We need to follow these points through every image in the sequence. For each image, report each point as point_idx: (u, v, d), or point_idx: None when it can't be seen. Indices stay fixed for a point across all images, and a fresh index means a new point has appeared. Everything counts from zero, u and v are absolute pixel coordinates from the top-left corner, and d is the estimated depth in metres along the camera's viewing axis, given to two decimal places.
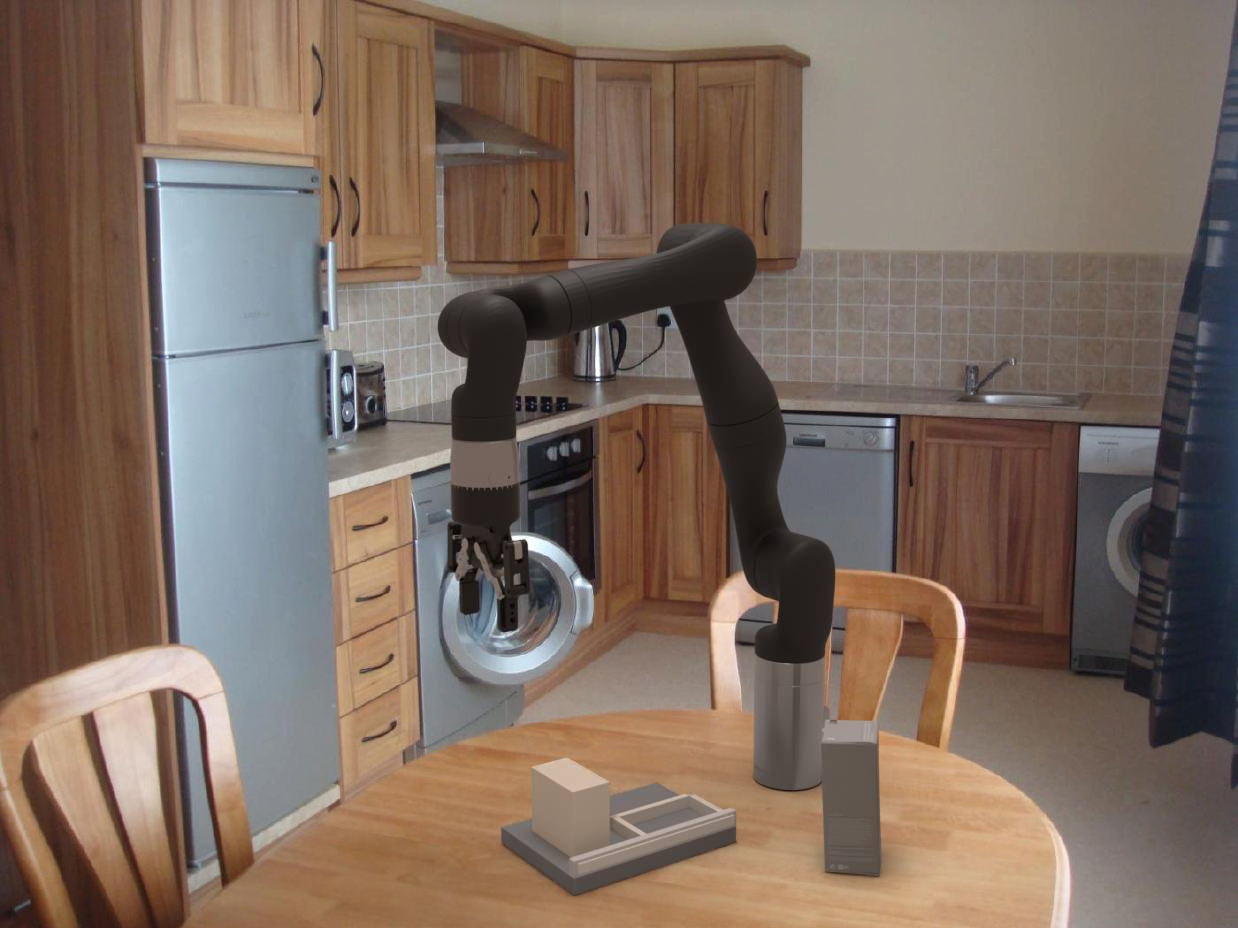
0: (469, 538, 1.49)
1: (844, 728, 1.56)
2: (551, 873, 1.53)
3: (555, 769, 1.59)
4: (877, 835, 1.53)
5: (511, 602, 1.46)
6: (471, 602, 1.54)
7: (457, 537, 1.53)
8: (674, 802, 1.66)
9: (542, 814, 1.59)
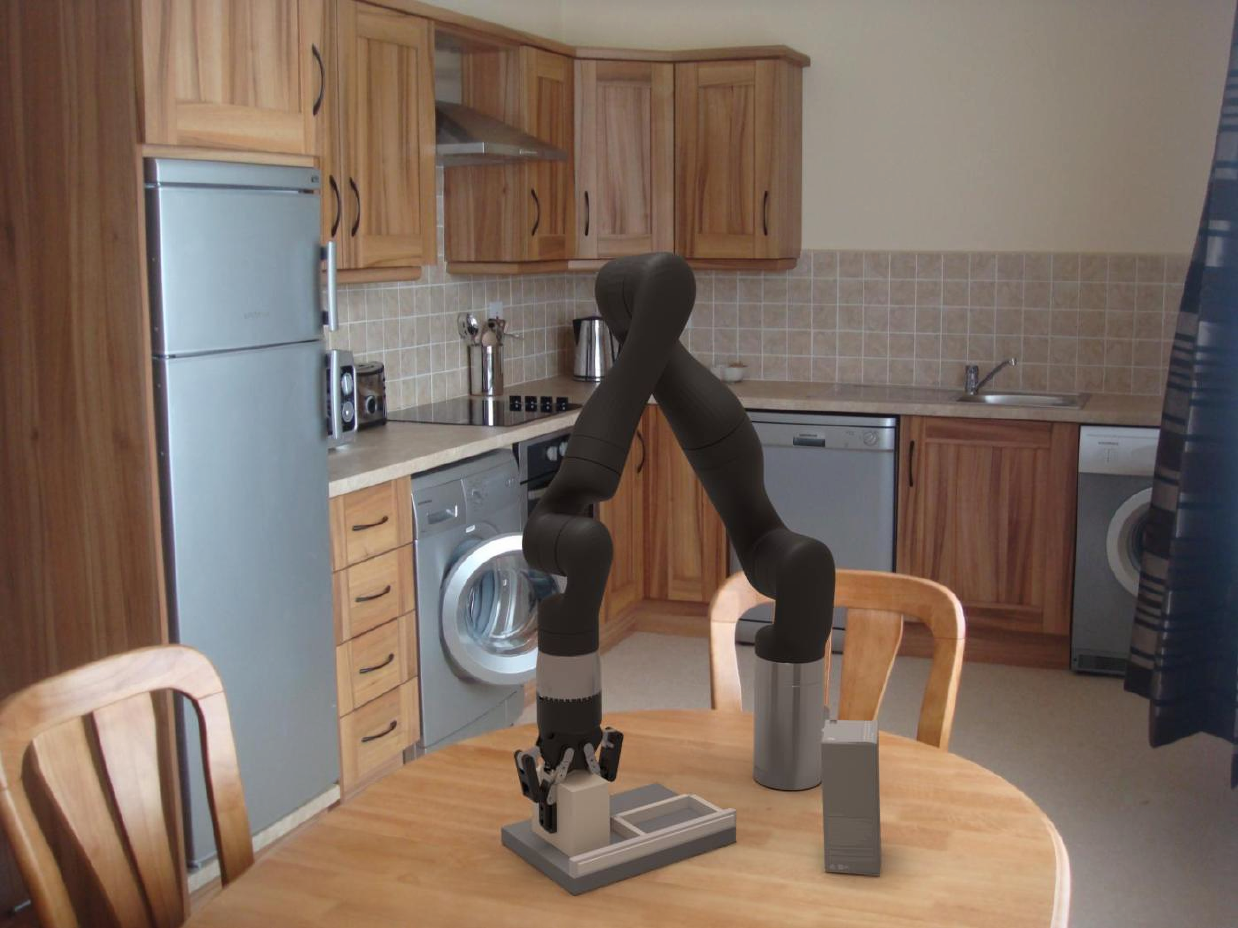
0: (567, 747, 1.55)
1: (844, 728, 1.56)
2: (551, 873, 1.53)
3: None
4: (877, 835, 1.53)
5: None
6: None
7: (536, 763, 1.54)
8: (674, 802, 1.66)
9: None
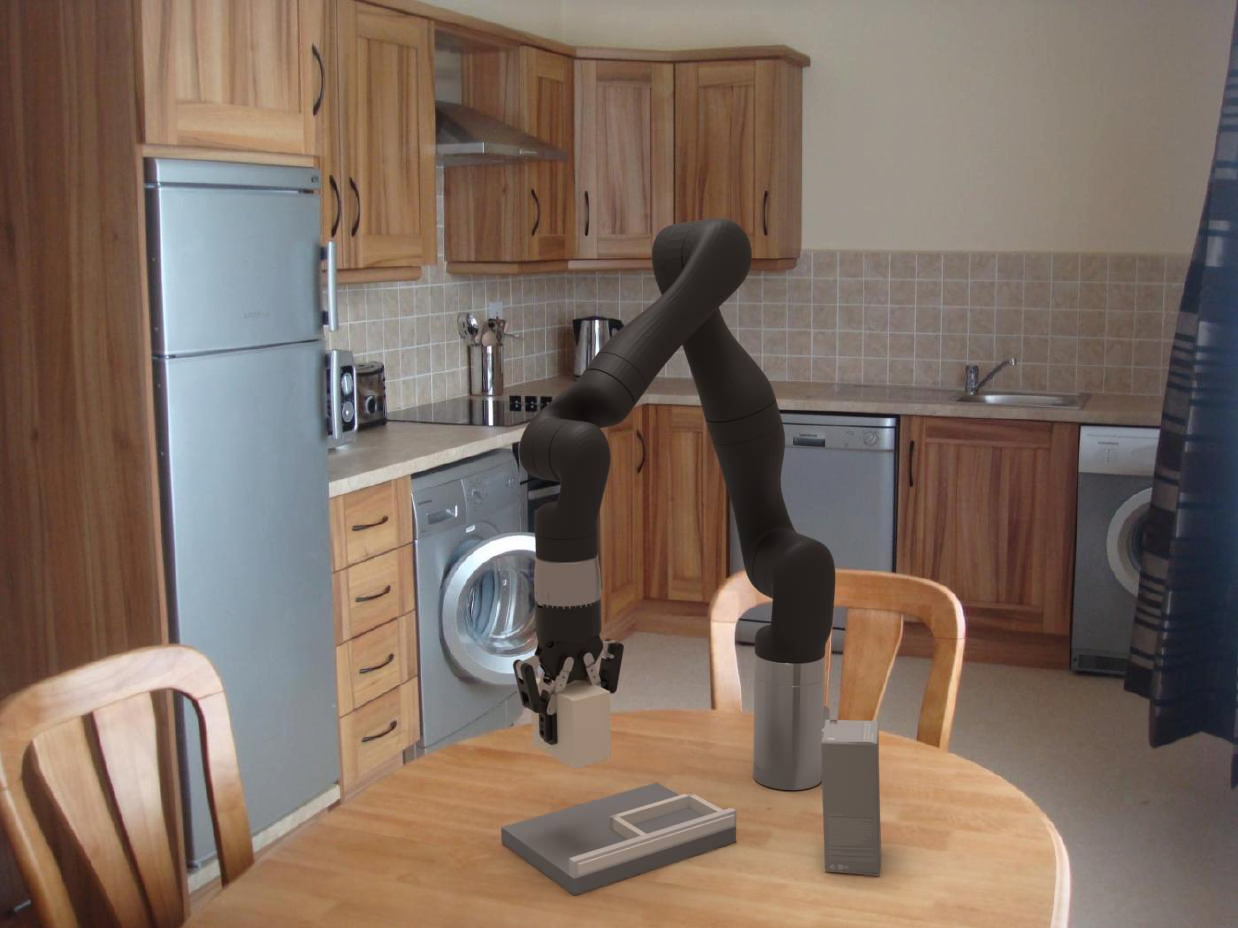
0: (567, 656, 1.53)
1: (845, 728, 1.56)
2: (551, 873, 1.53)
3: None
4: (877, 835, 1.53)
5: None
6: None
7: None
8: (674, 802, 1.66)
9: None
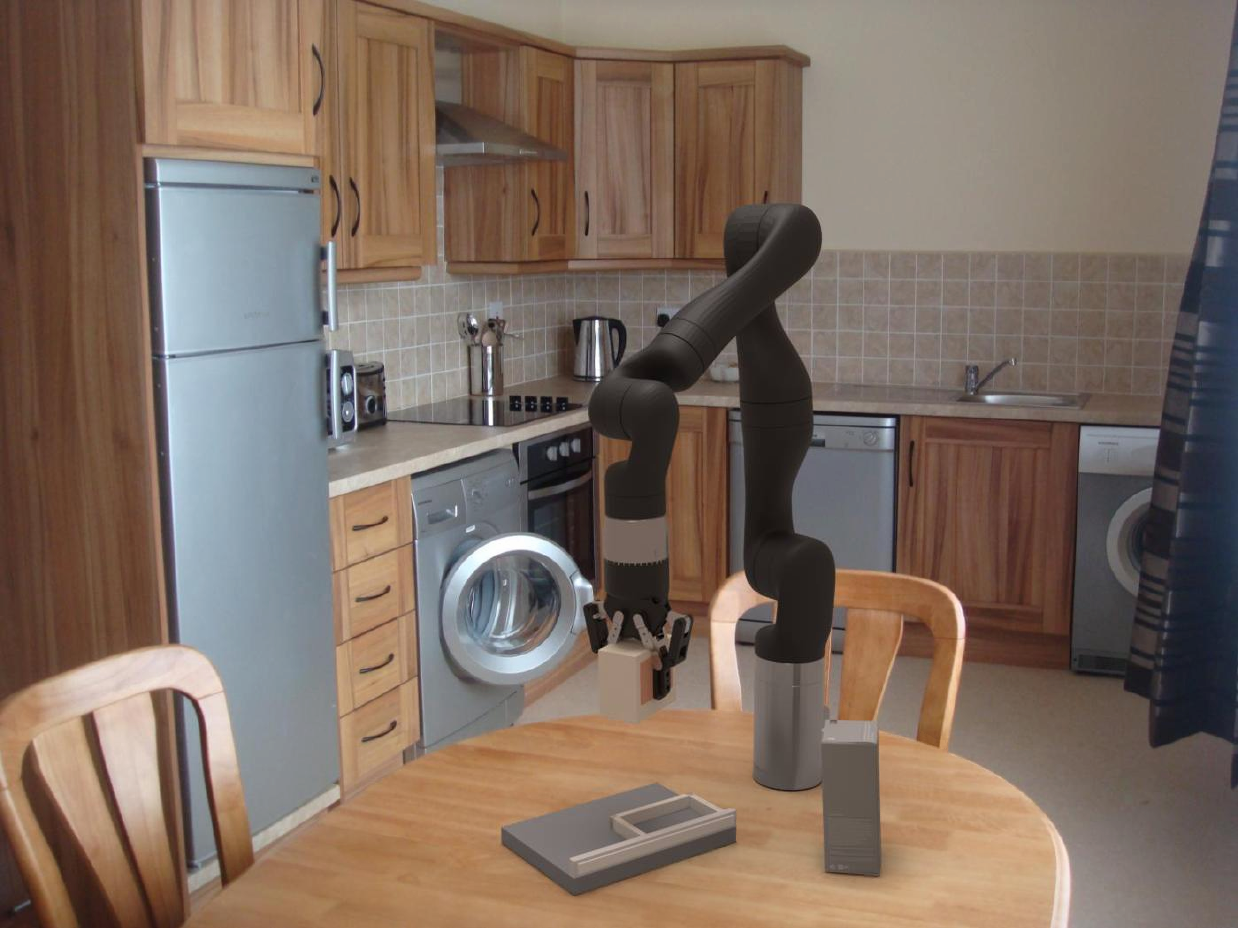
0: (621, 610, 1.56)
1: (845, 728, 1.56)
2: (551, 873, 1.53)
3: None
4: (877, 835, 1.53)
5: (666, 671, 1.56)
6: None
7: (597, 615, 1.59)
8: (674, 802, 1.66)
9: None
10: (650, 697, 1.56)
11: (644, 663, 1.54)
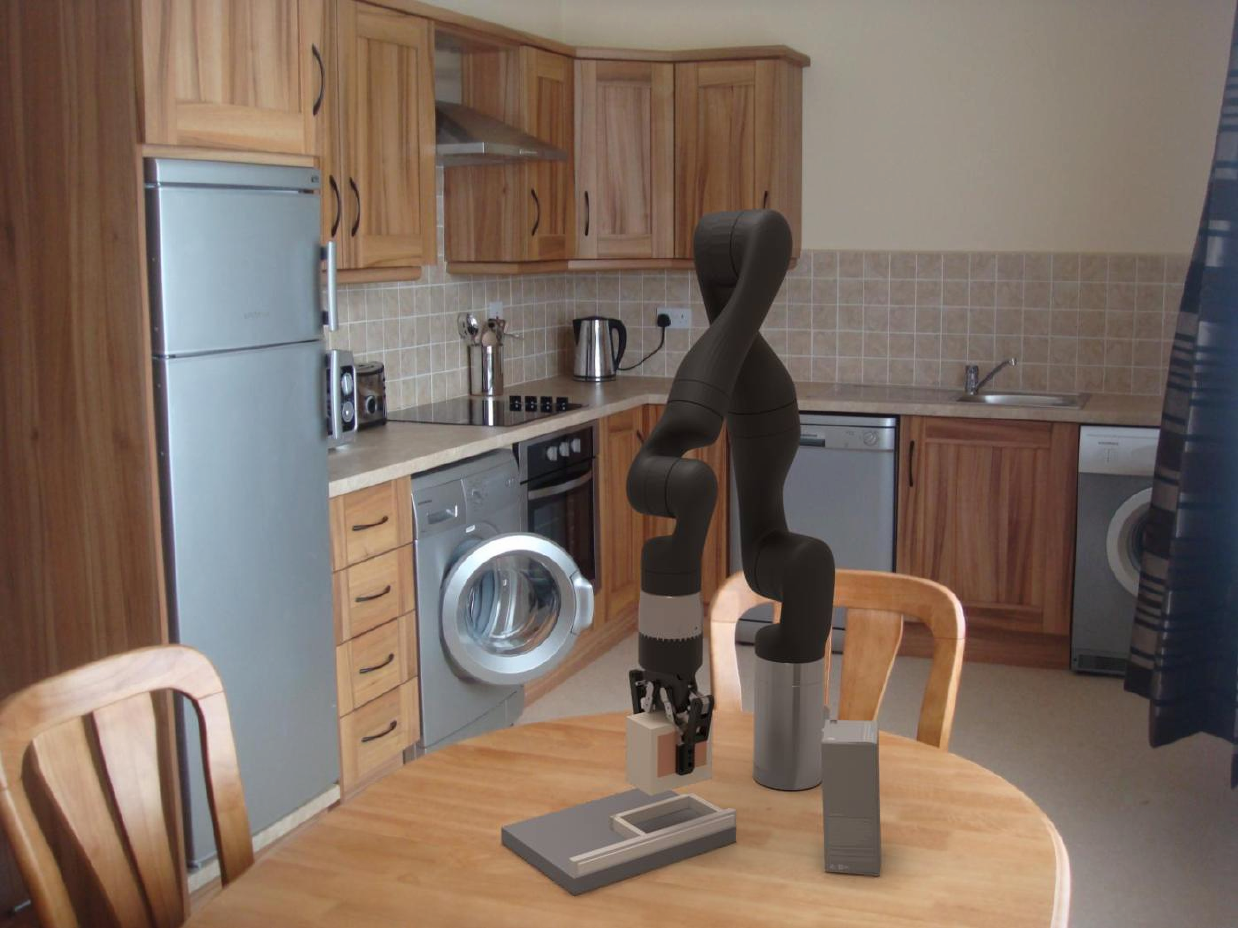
0: (653, 681, 1.59)
1: (845, 728, 1.56)
2: (551, 873, 1.53)
3: None
4: (877, 835, 1.53)
5: (689, 748, 1.57)
6: None
7: (640, 683, 1.63)
8: (674, 802, 1.66)
9: None
10: (671, 771, 1.57)
11: (663, 737, 1.56)
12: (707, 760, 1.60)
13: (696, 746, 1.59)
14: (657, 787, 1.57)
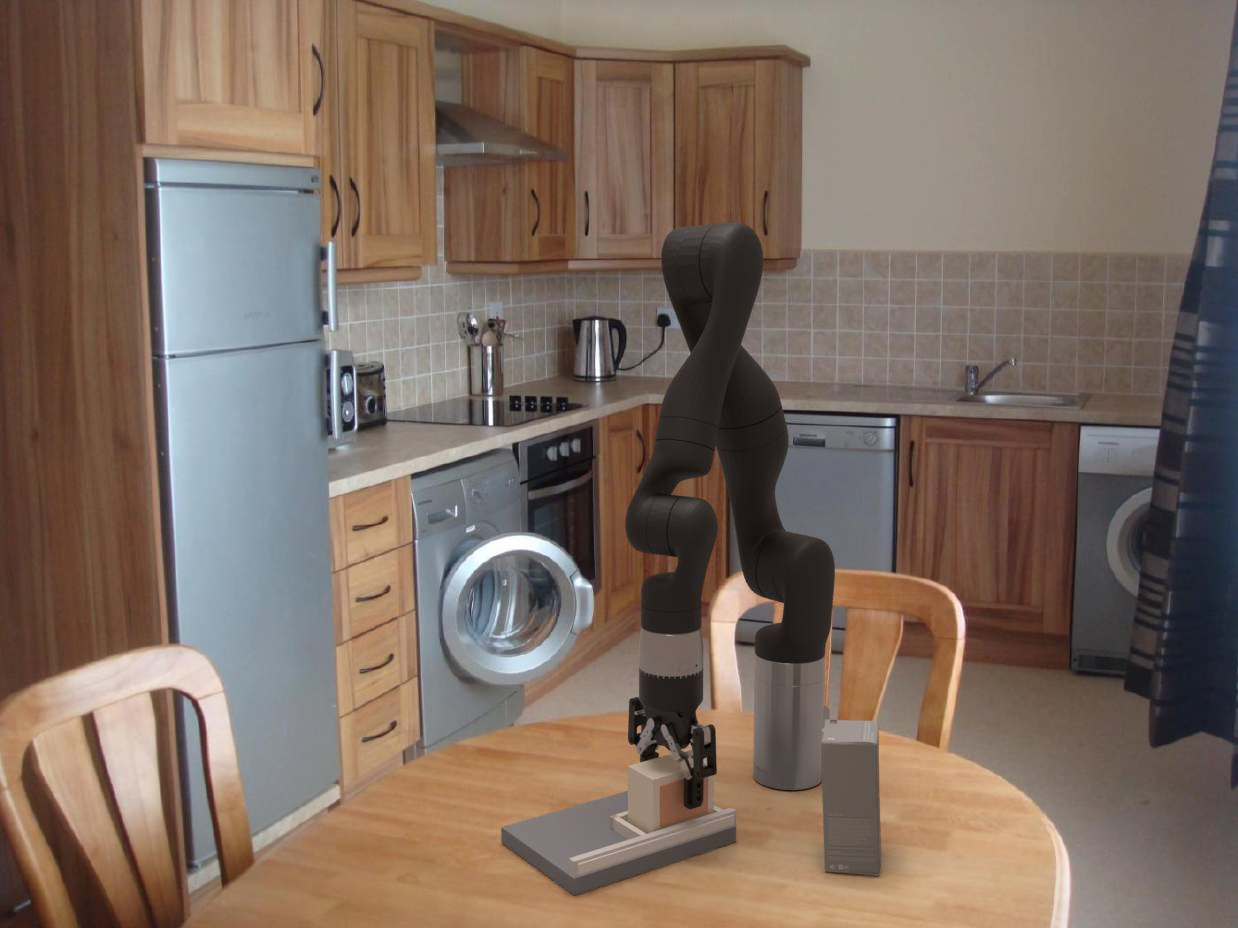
0: (655, 718, 1.60)
1: (844, 728, 1.56)
2: (551, 873, 1.53)
3: None
4: (877, 835, 1.53)
5: (698, 782, 1.56)
6: None
7: (639, 713, 1.64)
8: None
9: None
10: (673, 820, 1.58)
11: (665, 787, 1.57)
12: (709, 808, 1.61)
13: None
14: None
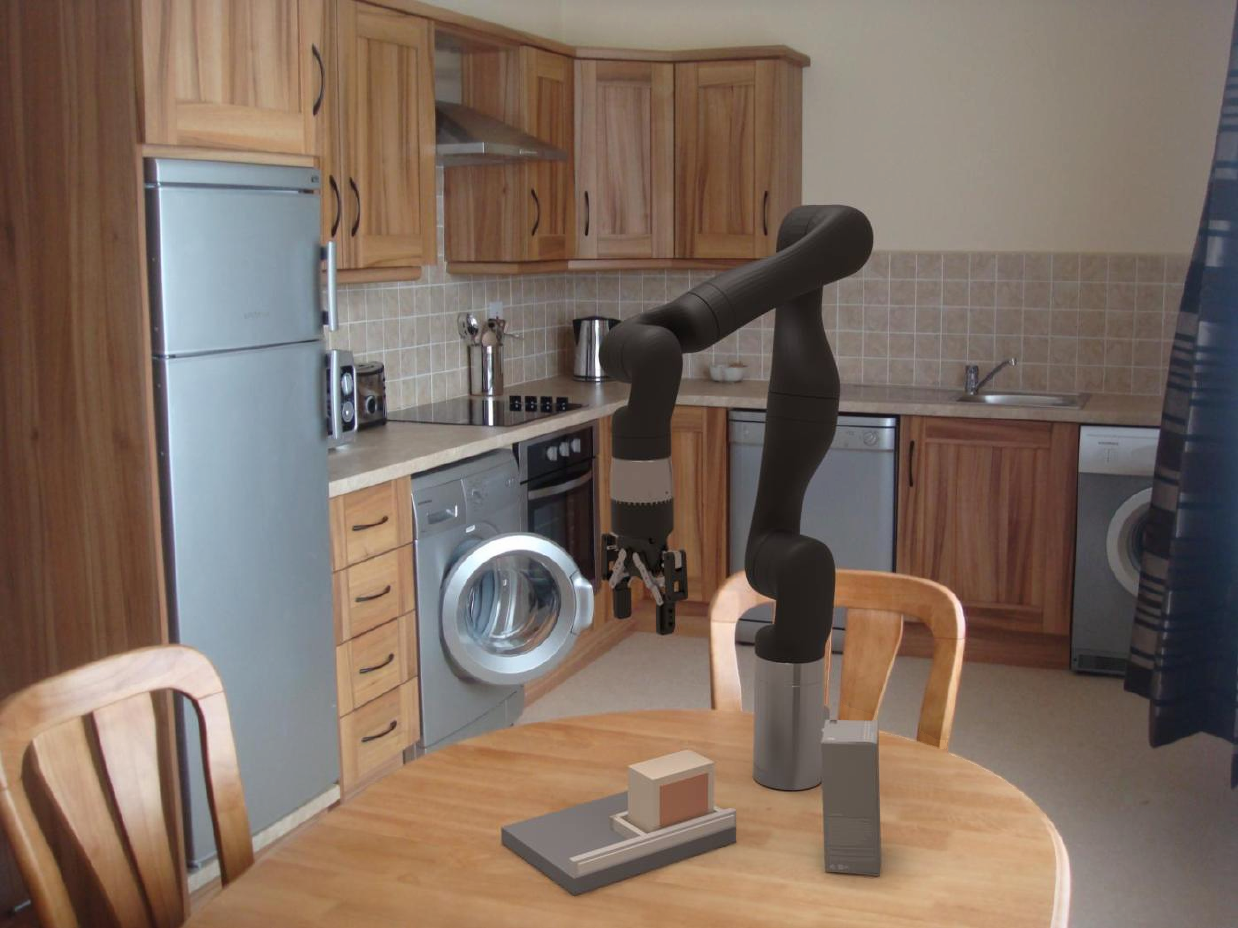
0: (626, 549, 1.62)
1: (844, 728, 1.56)
2: (551, 873, 1.53)
3: (681, 758, 1.62)
4: (877, 835, 1.53)
5: (669, 607, 1.59)
6: (624, 607, 1.67)
7: (611, 547, 1.66)
8: None
9: None
10: (673, 820, 1.58)
11: (665, 787, 1.57)
12: (709, 808, 1.61)
13: (698, 794, 1.60)
14: None
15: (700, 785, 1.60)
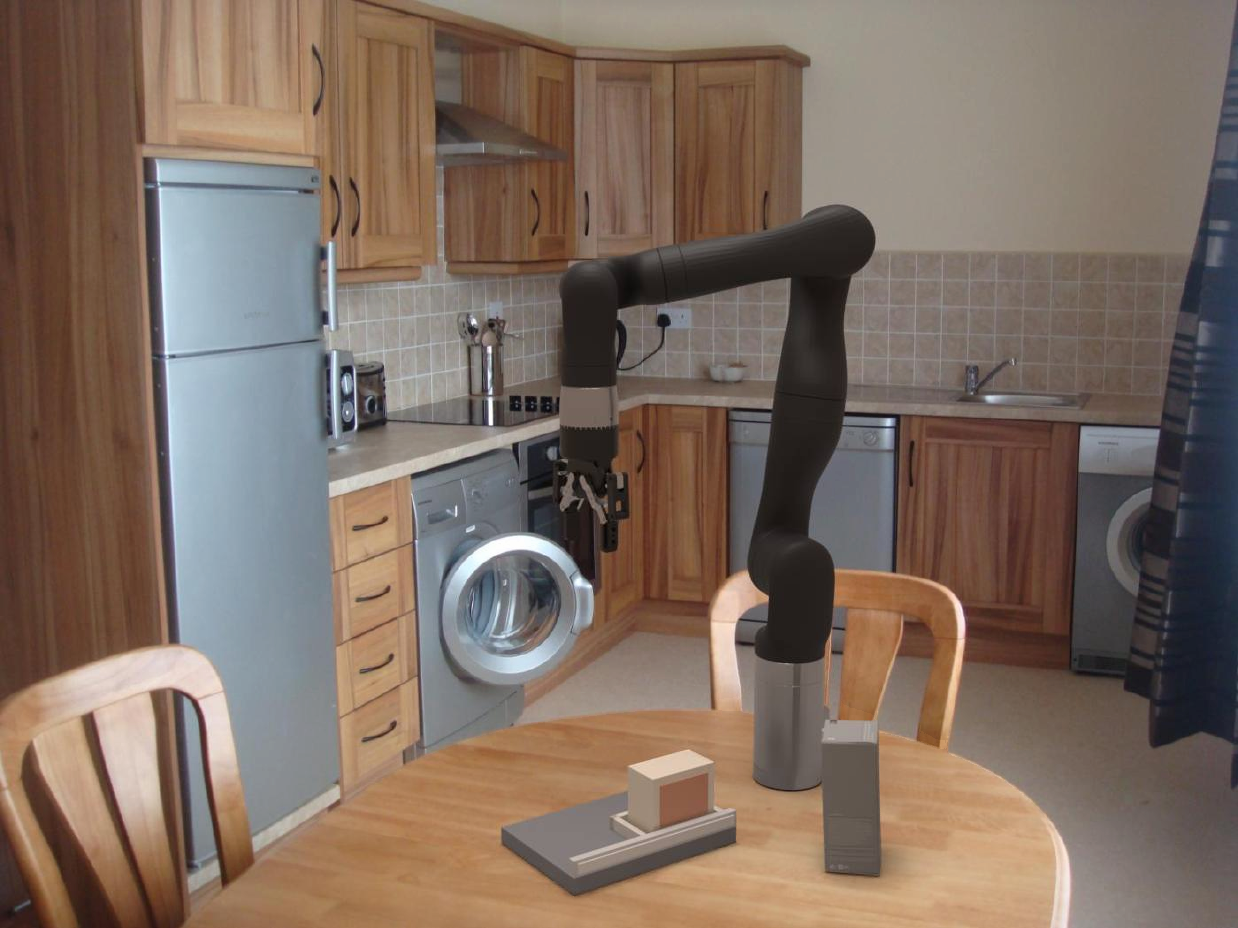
0: (575, 472, 1.73)
1: (845, 728, 1.56)
2: (551, 873, 1.53)
3: (681, 758, 1.62)
4: (877, 835, 1.53)
5: (613, 526, 1.70)
6: (573, 529, 1.78)
7: (562, 473, 1.77)
8: None
9: None
10: (673, 820, 1.58)
11: (665, 787, 1.57)
12: (709, 808, 1.61)
13: (698, 794, 1.60)
14: None
15: (700, 785, 1.60)
